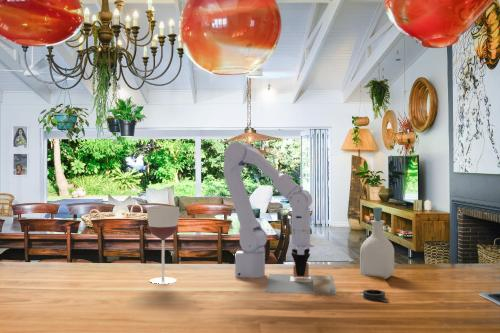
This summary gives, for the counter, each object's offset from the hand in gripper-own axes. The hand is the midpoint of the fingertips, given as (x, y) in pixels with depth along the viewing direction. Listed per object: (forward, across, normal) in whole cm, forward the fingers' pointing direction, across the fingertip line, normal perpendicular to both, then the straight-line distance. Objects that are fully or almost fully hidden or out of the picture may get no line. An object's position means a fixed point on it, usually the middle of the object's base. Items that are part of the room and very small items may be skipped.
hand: (300, 273), depth 156 cm
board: (+3, -5, 0) cm, 6 cm away
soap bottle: (+3, +12, -25) cm, 28 cm away
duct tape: (+3, -18, -20) cm, 27 cm away
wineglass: (+3, -2, +43) cm, 43 cm away
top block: (+2, -12, -6) cm, 14 cm away
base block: (+1, 0, 0) cm, 1 cm away
